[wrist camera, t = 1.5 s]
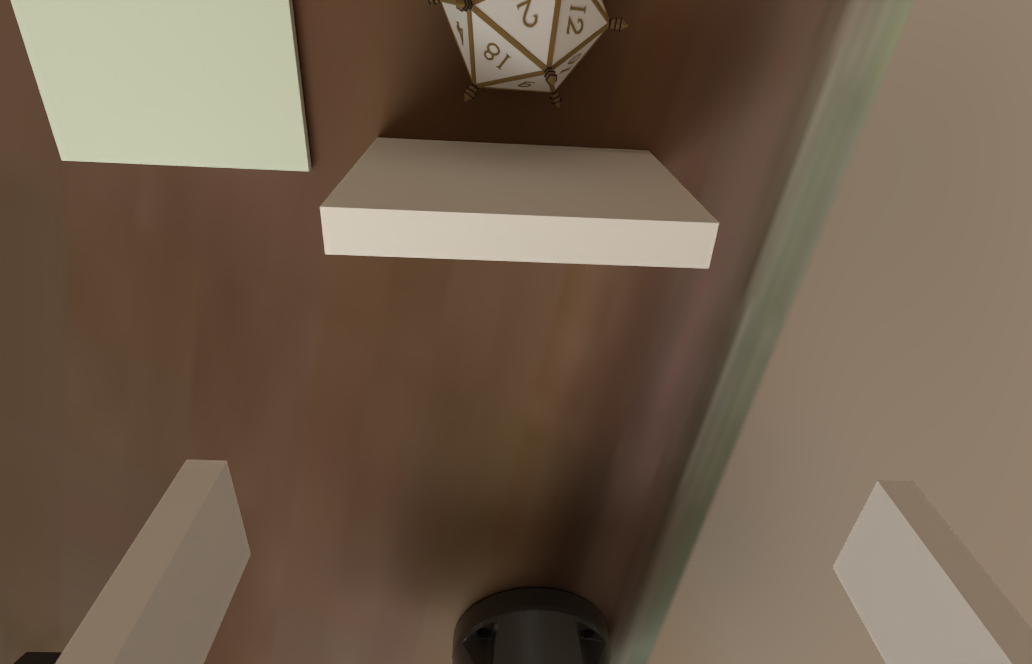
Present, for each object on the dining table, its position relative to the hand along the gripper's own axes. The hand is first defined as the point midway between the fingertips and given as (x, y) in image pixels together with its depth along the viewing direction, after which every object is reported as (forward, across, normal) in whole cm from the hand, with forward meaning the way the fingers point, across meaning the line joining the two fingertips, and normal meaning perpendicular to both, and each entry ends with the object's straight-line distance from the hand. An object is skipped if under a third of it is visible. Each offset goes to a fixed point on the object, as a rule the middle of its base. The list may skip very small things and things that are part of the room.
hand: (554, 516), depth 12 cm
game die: (+28, 0, -8) cm, 29 cm away
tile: (+27, +19, -6) cm, 34 cm away
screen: (+27, 0, +2) cm, 27 cm away
